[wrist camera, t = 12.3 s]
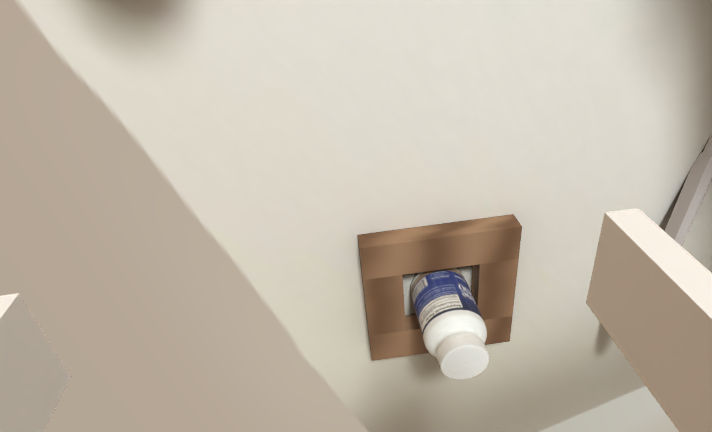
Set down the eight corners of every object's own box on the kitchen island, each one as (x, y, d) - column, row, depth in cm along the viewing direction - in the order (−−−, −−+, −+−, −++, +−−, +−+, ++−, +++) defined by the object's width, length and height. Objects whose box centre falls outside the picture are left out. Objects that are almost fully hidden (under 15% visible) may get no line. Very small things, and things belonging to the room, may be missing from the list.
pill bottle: (469, 294, 48) (504, 374, 40) (418, 311, 49) (441, 393, 40) (457, 254, 45) (491, 330, 37) (402, 273, 46) (424, 352, 38)
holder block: (513, 214, 43) (521, 226, 42) (502, 326, 51) (509, 341, 49) (357, 235, 43) (359, 248, 41) (369, 345, 50) (372, 360, 49)
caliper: (608, 314, 52) (643, 360, 47) (599, 313, 52) (634, 359, 46) (717, 137, 41) (778, 170, 36) (706, 135, 41) (767, 168, 36)
